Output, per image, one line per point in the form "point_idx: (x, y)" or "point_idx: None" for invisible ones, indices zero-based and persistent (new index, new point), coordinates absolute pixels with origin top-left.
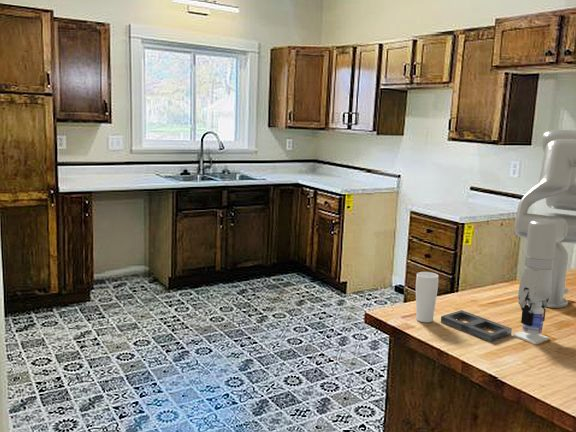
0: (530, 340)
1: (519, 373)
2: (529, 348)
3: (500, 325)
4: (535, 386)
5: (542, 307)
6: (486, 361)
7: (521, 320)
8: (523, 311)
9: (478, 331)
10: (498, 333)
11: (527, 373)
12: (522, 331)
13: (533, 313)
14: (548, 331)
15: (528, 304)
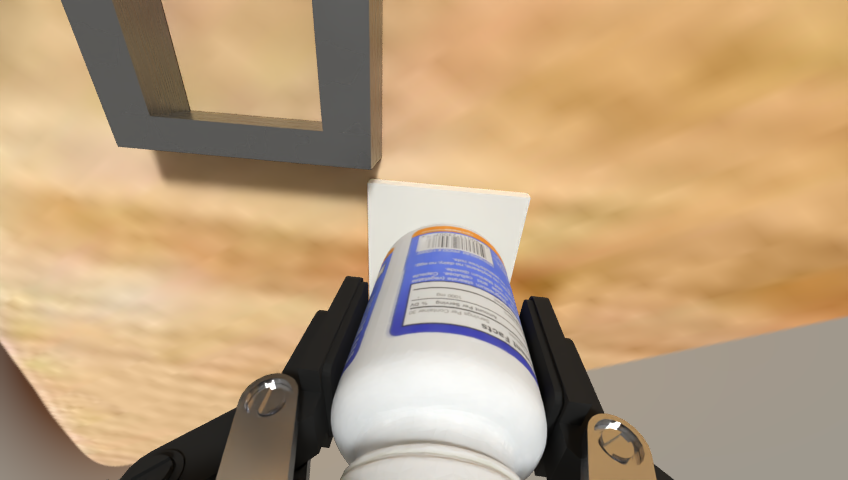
0: (373, 282)
1: (93, 355)
2: (308, 299)
3: (344, 71)
4: (92, 404)
5: (550, 471)
6: (4, 244)
7: (341, 286)
8: (306, 367)
9: (70, 14)
10: (204, 154)
11: (123, 369)
12: (466, 196)
13: (327, 444)
14: (625, 274)
15: (345, 472)
